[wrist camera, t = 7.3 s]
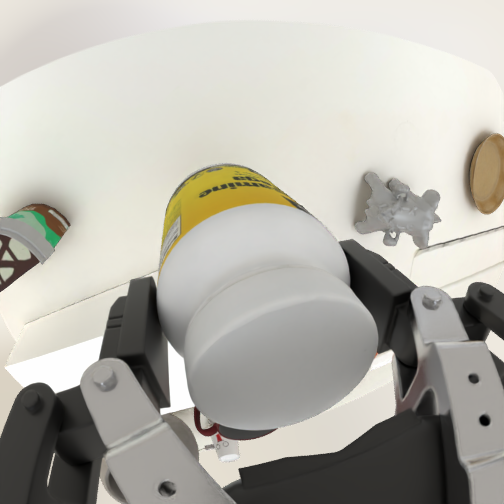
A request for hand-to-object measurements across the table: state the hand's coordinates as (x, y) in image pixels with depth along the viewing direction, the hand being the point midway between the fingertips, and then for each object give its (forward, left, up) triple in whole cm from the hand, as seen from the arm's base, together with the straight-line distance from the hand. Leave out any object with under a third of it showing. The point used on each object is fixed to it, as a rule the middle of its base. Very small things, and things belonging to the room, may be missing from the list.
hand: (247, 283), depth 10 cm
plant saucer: (+2, +47, -22) cm, 52 cm away
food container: (+2, -21, -22) cm, 30 cm away
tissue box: (+20, -15, -22) cm, 33 cm away
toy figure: (+44, -4, -22) cm, 49 cm away
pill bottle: (0, 0, -7) cm, 7 cm away
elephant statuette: (+6, +23, -22) cm, 33 cm away
